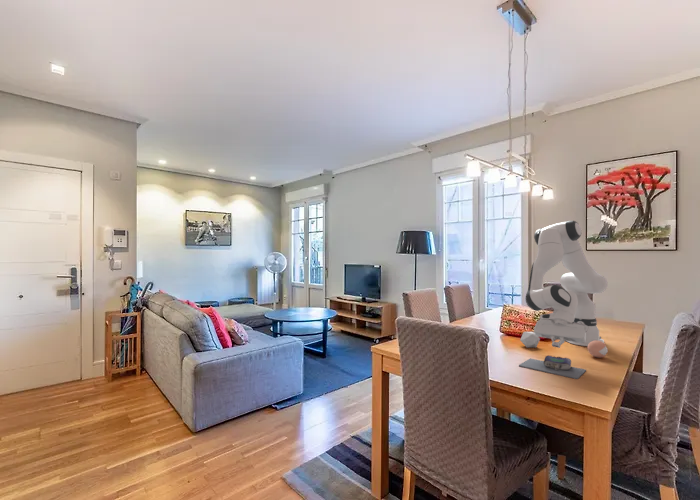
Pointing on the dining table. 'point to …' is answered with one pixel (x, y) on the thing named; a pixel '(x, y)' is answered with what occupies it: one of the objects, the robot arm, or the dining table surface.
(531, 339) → the die
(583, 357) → the dining table surface
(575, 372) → the mat
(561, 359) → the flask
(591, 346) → the toy ball
